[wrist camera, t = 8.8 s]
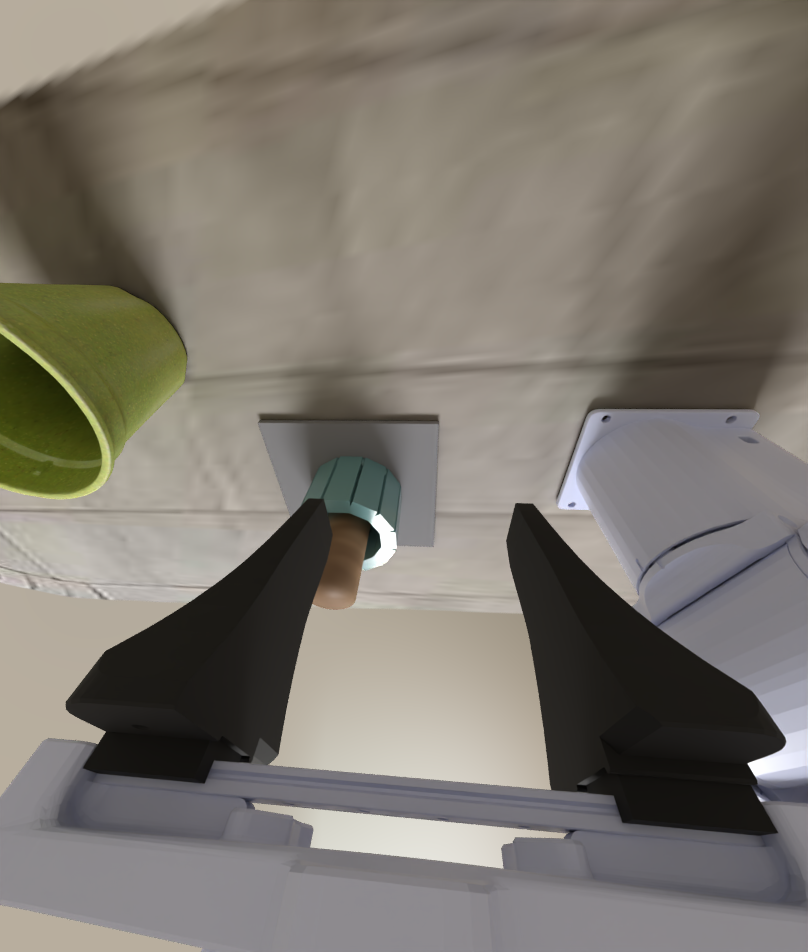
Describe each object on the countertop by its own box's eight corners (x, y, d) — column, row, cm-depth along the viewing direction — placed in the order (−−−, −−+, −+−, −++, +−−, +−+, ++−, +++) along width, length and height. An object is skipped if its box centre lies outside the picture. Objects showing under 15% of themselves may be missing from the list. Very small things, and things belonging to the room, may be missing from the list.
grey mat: (438, 421, 20) (438, 424, 20) (433, 543, 28) (433, 546, 28) (260, 420, 21) (257, 423, 21) (300, 538, 29) (299, 542, 28)
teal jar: (399, 457, 22) (393, 502, 18) (402, 525, 26) (398, 572, 22) (304, 455, 22) (279, 499, 19) (322, 522, 27) (305, 568, 23)
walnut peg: (373, 482, 23) (351, 580, 16) (377, 512, 25) (358, 610, 18) (332, 482, 23) (295, 578, 17) (339, 511, 25) (308, 608, 19)
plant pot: (133, 214, 15) (-117, 200, 8) (249, 394, 20) (156, 477, 14) (5, 283, 17) (-274, 317, 10) (140, 429, 23) (13, 515, 16)
